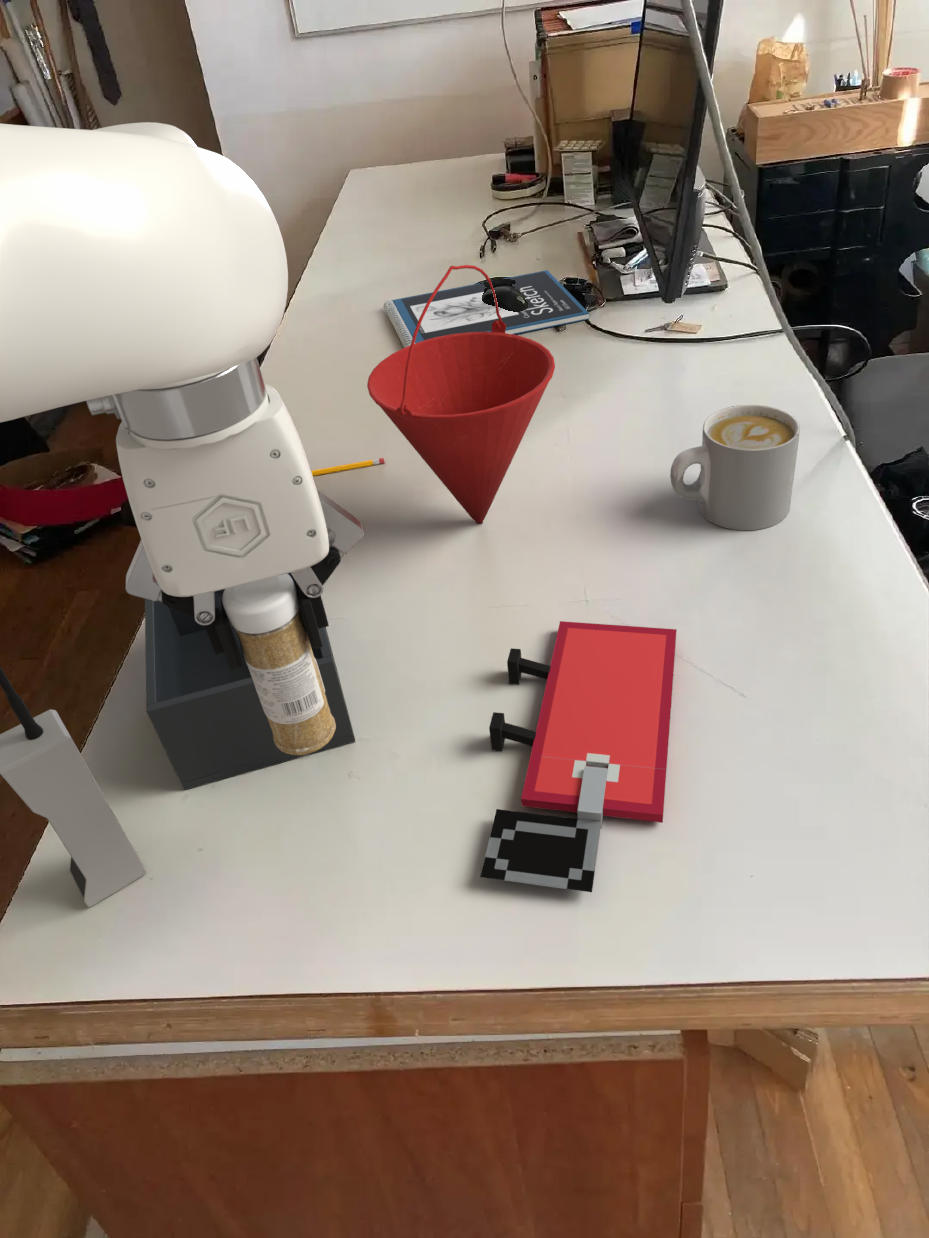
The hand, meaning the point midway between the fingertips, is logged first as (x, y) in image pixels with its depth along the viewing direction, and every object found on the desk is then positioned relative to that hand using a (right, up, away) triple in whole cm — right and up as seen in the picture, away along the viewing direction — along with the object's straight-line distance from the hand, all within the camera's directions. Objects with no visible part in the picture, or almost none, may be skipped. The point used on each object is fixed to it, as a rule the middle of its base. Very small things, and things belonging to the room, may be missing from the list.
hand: (274, 643), depth 61 cm
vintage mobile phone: (-16, -20, +15) cm, 30 cm away
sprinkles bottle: (+1, -7, +6) cm, 9 cm away
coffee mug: (+42, +14, +45) cm, 64 cm away
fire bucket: (+14, +13, +48) cm, 52 cm away
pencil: (-7, +20, +61) cm, 65 cm away
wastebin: (-8, -5, +31) cm, 32 cm away
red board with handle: (+22, -10, +20) cm, 32 cm away
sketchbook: (+15, +52, +95) cm, 110 cm away
